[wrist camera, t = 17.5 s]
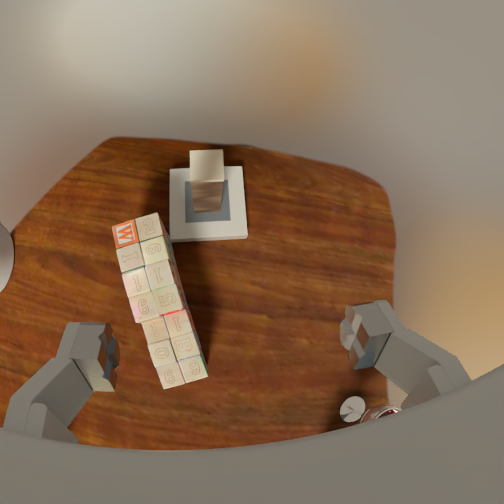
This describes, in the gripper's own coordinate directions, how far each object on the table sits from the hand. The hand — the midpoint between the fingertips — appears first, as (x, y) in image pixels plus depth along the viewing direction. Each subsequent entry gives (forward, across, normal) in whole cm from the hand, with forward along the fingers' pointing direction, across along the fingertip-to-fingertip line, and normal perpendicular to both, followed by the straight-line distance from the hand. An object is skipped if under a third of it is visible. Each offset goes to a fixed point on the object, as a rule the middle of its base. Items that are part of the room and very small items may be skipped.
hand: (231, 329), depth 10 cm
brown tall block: (+38, 0, +12) cm, 40 cm away
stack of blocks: (+28, +7, +25) cm, 38 cm away
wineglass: (+13, -22, +40) cm, 47 cm away
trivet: (+39, 0, +14) cm, 42 cm away
